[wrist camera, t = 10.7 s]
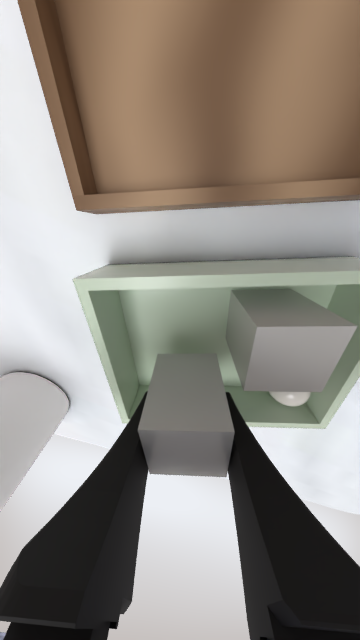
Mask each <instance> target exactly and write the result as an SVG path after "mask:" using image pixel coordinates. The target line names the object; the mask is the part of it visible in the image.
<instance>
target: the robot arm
mask: <svg viewBox="0 0 360 640" xmlns="http://www.w3.org/2000/svg"><path fill="white" fill-rule="evenodd" d="M147 393H148V391H146V392H145V394H144V396H143V398H142V400H141V402H140V404H139V405H138V407H137V409H136V411H135V412H134V414H133V416H132V417H131V419H130V421H129V422H128V424H127V425H126V427H125V429H124V430H123V432H122V433H121V435H120V436H119V438H118V439H117V440H116V442H115V443H114V445H113V446H112V448H111V449H110V450H109V452H108V453H107V454H106V456H105V457H104V459H103V460H102V461H101V462H100V464H99V465H98V466H97V467H96V468H95V470H94V471H93V472H92V474H91V475H90V476H89V477H88V478H87V480H86V481H85V482H84V483H83V485H81V487H80V488H79V489H78V490H77V491H76V492H75V493H74V495H73V496H72V497H71V498H70V499H69V500H68V501H67V502H66V504H65V505H64V506H63V507H62V508H61V509H60V510H59V511H58V512H57V513H56V514H55V516H54V517H53V518H52V519H51V520H50V521H49V522H48V523H47V524H46V525H45V526H44V527H43V528H42V529H41V530H40V531H39V532H38V533H37V534H36V535H35V536H34V537H33V538H32V539H31V540H30V541H29V542H28V544H26V546H25V547H24V548H23V549H22V551H21V552H20V554H19V556H18V557H17V559H16V561H15V562H14V564H13V566H12V567H11V569H10V571H9V573H8V574H7V576H6V578H5V580H4V582H3V584H2V586H1V588H0V621H7V622H11V624H10V626H9V628H8V630H7V633H4V632H0V640H107V637H108V631H109V628H112V629H117V626H118V621H119V616H120V614H124V613H125V611H126V610H127V609H128V607H129V605H130V604H131V602H132V595H133V585H134V576H135V567H136V558H137V549H138V541H139V533H140V525H141V517H142V509H143V502H144V495H145V487H146V480H147V474H148V465H147V462H146V458H145V454H144V451H143V447H142V444H141V440H140V436H139V433H138V427H139V423H140V419H141V415H142V412H143V408H144V404H145V400H146V396H147ZM225 393H226V397H227V402H228V406H229V410H230V414H231V419H232V423H233V427H234V432H235V433H234V438H233V444H232V449H231V455H230V460H229V466H228V474H229V480H230V486H231V492H232V500H233V507H234V515H235V522H236V530H237V537H238V545H239V553H240V561H241V569H242V578H243V586H244V595H245V604H246V613H247V621H248V627H249V634H250V639H251V640H360V567H359V566H358V564H356V562H355V561H354V560H353V559H352V558H351V557H350V556H349V555H348V554H347V552H346V551H345V550H344V549H343V548H342V547H341V546H340V545H339V544H338V542H337V541H336V540H335V539H334V538H333V537H332V536H331V535H330V534H329V532H328V531H327V530H326V529H325V528H324V527H323V526H322V524H321V523H320V522H319V521H318V520H317V519H316V517H315V516H314V515H313V514H312V513H311V512H310V510H309V509H308V508H307V507H306V505H305V504H304V503H303V502H302V500H301V499H300V498H299V497H298V496H297V494H296V493H295V492H294V491H293V489H292V488H291V487H290V486H289V484H288V483H287V482H286V481H285V479H284V478H283V477H282V475H281V474H280V473H279V471H278V470H277V469H276V467H275V466H274V465H273V463H272V462H271V461H270V459H269V458H268V456H267V455H266V453H265V452H264V451H263V449H262V448H261V446H260V445H259V443H258V442H257V440H256V439H255V437H254V435H253V434H252V432H251V431H250V429H249V427H248V426H247V424H246V422H245V421H244V419H243V417H242V415H241V414H240V412H239V410H238V408H237V406H236V404H235V402H234V400H233V398H232V396H231V394H230V393H229V392H225Z"/></svg>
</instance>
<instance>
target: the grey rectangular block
mask: <svg viewBox="0 0 360 640" xmlns="http://www.w3.org/2000/svg"><path fill="white" fill-rule="evenodd" d="M357 327H358V326H356V325H355V324H353V323H351V322H349V321H348V320H346V319H344V318H342V317H340V316H339V315H337V314H335V313H333V312H331V311H330V310H328V309H326V308H324V307H323V306H321V305H319V304H317V303H315V302H314V301H312V300H310V299H308V298H306V297H305V296H303V295H301V294H299V293H298V292H296V291H294V290H292V289H258V290H231V293H230V302H229V311H228V320H227V329H226V337H225V338H226V341H227V344H228V347H229V350H230V353H231V356H232V359H233V362H234V365H235V368H236V371H237V373H238V376H239V379H240V382H241V385H242V388H243V391H276V392H322V391H323V389H324V387H325V385H326V383H327V381H328V380H329V378H330V376H331V374H332V372H333V370H334V369H335V367H336V365H337V363H338V361H339V360H340V358H341V356H342V354H343V352H344V350H345V349H346V347H347V345H348V343H349V341H350V339H351V338H352V336H353V334H354V332H355V330H356V328H357Z"/></svg>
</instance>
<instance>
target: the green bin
mask: <svg viewBox="0 0 360 640" xmlns="http://www.w3.org/2000/svg"><path fill="white" fill-rule="evenodd" d="M73 282H74V285H75V288H76V291H77V294H78V297H79V300H80V302H81V305H82V308H83V311H84V314H85V317H86V320H87V323H88V325H89V328H90V331H91V334H92V337H93V340H94V343H95V346H96V348H97V351H98V354H99V357H100V360H101V363H102V366H103V368H104V371H105V374H106V377H107V380H108V383H109V386H110V389H111V391H112V394H113V397H114V400H115V403H116V406H117V409H118V412H119V414H120V417H121V420H122V423H128V422H129V421H130V419H131V417H132V416H133V414H134V412H135V411H136V409H137V407H138V405H139V404H140V402H141V400H142V398H143V396H144V394H145V392H146V391H148V389H149V385H150V381H151V377H152V374H153V370H154V366H155V362H156V358H157V355H158V354H213V353H216V354H217V358H218V363H219V367H220V371H221V376H222V380H223V384H224V389H225V392H229V393H230V394H231V396H232V398H233V400H234V402H235V404H236V406H237V408H238V410H239V412H240V414H241V415H242V417H243V419H244V421H245V422H246V424H247V426H248V427H276V428H312V429H325V428H326V427H327V425H328V424H329V422H330V421H331V419H332V418H333V416H334V415H335V413H336V412H337V410H338V409H339V407H340V406H341V404H342V403H343V401H344V400H345V398H346V397H347V395H348V394H349V392H350V390H351V389H352V387H353V386H354V384H355V383H356V381H357V380H358V378H359V377H360V258H357V257H350V256H348V257H319V258H289V259H260V260H231V261H201V262H172V263H143V264H113V265H106V266H103V267H101V268H99V269H96V270H94V271H91V272H89V273H86V274H84V275H81V276H79V277H76V278H74V279H73ZM258 289H292V290H294V291H296V292H298V293H299V294H301V295H303V296H305V297H306V298H308V299H310V300H312V301H314V302H315V303H317V304H319V305H321V306H323V307H324V308H326V309H328V310H330V311H331V312H333V313H335V314H337V315H339V316H340V317H342V318H344V319H346V320H348V321H349V322H351V323H353V324H355V325H356V326H358V327H357V328H356V330H355V332H354V334H353V336H352V338H351V339H350V341H349V343H348V345H347V347H346V349H345V350H344V352H343V354H342V356H341V358H340V360H339V361H338V363H337V365H336V367H335V369H334V370H333V372H332V374H331V376H330V378H329V380H328V381H327V383H326V385H325V387H324V389H323V391H322V392H311V394H310V397H309V399H308V400H307V401H306V402H305V403H304V404H302V405H300V406H286V405H283V404H281V403H279V402H278V401H276V400H275V399H274V398H273V397H272V396H271V394H270V393H269V391H243V388H242V385H241V382H240V379H239V376H238V373H237V371H236V368H235V365H234V362H233V359H232V356H231V353H230V350H229V347H228V344H227V341H226V338H225V337H226V329H227V320H228V311H229V302H230V293H231V290H258Z"/></svg>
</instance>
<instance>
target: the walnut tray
mask: <svg viewBox="0 0 360 640" xmlns="http://www.w3.org/2000/svg"><path fill="white" fill-rule="evenodd" d="M17 1H18V4H19V8H20V11H21V15H22V18H23V22H24V26H25V29H26V33H27V36H28V40H29V43H30V47H31V50H32V54H33V58H34V61H35V65H36V68H37V72H38V75H39V79H40V82H41V86H42V90H43V93H44V97H45V100H46V104H47V107H48V111H49V114H50V118H51V122H52V125H53V129H54V132H55V136H56V139H57V143H58V147H59V150H60V154H61V157H62V161H63V164H64V168H65V171H66V175H67V179H68V182H69V186H70V189H71V193H72V196H73V200H74V203H75V207H76V210H77V211H82V212H88V213H93V214H107V213H125V212H144V211H162V210H181V209H199V208H218V207H236V206H255V205H273V204H292V203H310V202H329V201H347V200H360V0H17Z"/></svg>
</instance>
